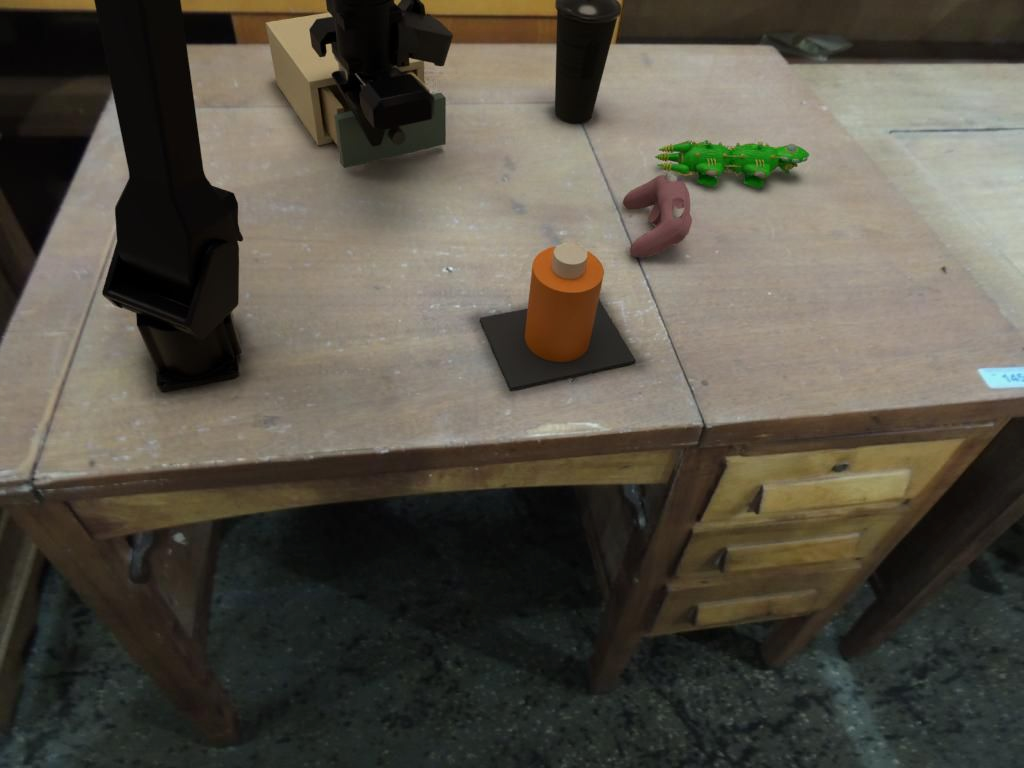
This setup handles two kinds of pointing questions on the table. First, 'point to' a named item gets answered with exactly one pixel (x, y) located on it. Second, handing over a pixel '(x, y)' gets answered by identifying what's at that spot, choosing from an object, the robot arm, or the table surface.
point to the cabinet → (308, 70)
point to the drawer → (395, 139)
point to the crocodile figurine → (730, 160)
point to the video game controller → (661, 213)
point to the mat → (533, 370)
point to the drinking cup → (581, 54)
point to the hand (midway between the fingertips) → (375, 144)
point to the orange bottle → (562, 302)
